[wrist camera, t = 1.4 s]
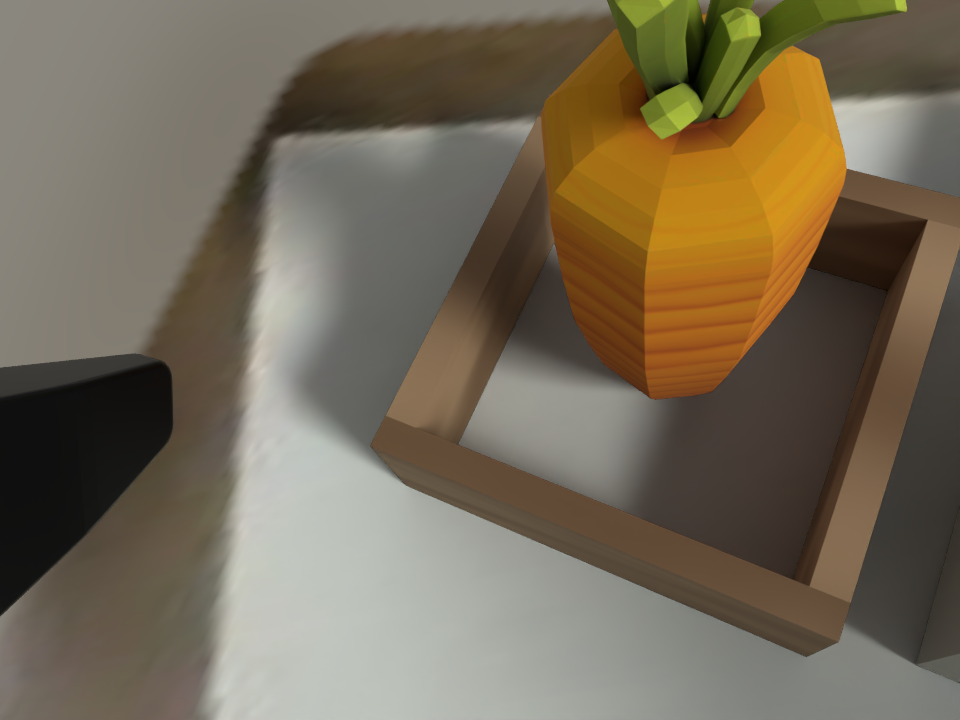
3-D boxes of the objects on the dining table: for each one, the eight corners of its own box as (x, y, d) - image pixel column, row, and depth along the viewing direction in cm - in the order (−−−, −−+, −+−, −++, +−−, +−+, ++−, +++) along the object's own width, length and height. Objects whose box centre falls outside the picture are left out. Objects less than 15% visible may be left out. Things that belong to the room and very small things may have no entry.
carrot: (699, 268, 24) (779, -325, 11) (802, 414, 22) (1062, -92, 9) (541, 348, 24) (419, -151, 11) (630, 504, 22) (619, 129, 8)
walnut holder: (806, 656, 20) (838, 641, 17) (406, 485, 23) (370, 445, 20) (927, 274, 23) (973, 201, 20) (560, 170, 26) (550, 93, 23)
